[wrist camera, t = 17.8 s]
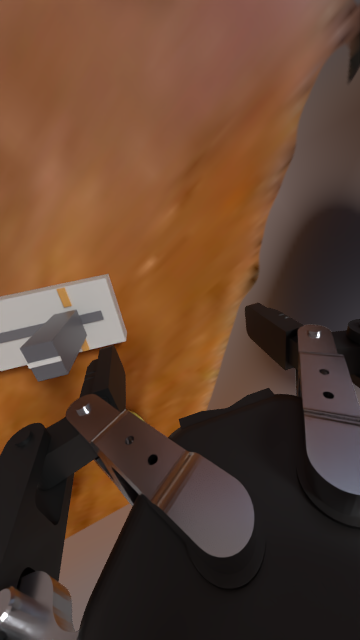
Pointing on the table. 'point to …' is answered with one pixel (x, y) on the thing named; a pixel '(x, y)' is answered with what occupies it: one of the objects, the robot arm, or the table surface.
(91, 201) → the table surface
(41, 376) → the fader knob
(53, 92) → the table surface
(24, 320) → the fader console
